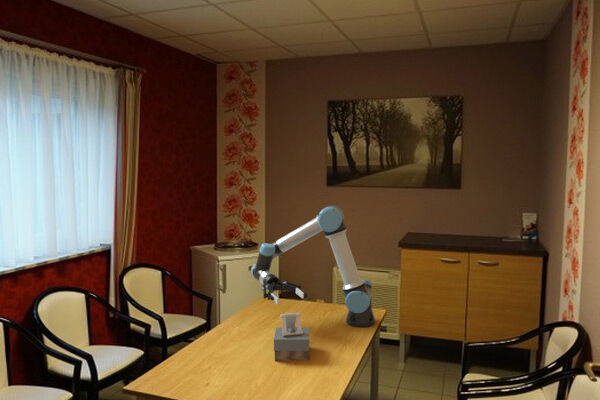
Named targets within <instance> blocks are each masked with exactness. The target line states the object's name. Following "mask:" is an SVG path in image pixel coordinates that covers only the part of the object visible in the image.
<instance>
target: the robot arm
mask: <svg viewBox="0 0 600 400" xmlns="http://www.w3.org/2000/svg"><path fill="white" fill-rule="evenodd" d="M345 219H346V217H345V211H344V210H343V208H342V207H340V206H339V205H337V204H332V205H328V206H326V207H323V209H321V211H320V212H319V213H318V214H316V217H314V218H313V219H311V220H309V221H308V222H306V223H305V224H302V225H301V226H299V227H297V228H295V229H294V230H292V231H291V232H289V233H287V234H286V235H284V236H282V237H280V238H278V239H277V240H275V241H274V242H272V243H267V242H266V243H262V244H261V245H260V248H259V253H258V256H257V259H256V263H255V264H253V265H252V267H251V268H250V273H251V275H252V277H253V278H254V279H255V280H257V281H258V282H259V283H260V284H261V288H262V289H261V290H262V291H263V299H267V301H273V303H274V304H276V305H279V300H280V299H279V297H278V296H276V295H275V294H274V292H278V291H289V292H295V294H296V295H297V296H299V297H300V298H301V299H305V293H304V292H303V290H302V285H299V284H297V283H294V282H291V281H288V280H284V281H280V279H279V277H277V275H275V274H274V273H273V272H271V271H270V270H271V268H272V267H271V266H272V263H273V260H274V259H275V258H276V257H277V258H278V257H279V256H281V255H282V254H284V253H286V252H287V251H289V250H290V249H292V248H294V247H296V246H298V245H300V244H301V243H304V242H305V241H306V240H308V239H310V238H312V237H314V236H315V235H317V234H319V233H321V232H322V233H323V235H324V237H325V238H326V239H328V241H329V244H330V247H331V250H332V252H333V256H334V258H335V261H336V265H337V268H338V271H339V274H340V276H341V280H342V282H343V286H342V289H341V290H342V291H343V295H344V297H345V298H344V302H345V306H346V308H347V310H348V311H347V314H346V317H345V322H346V325H349V326H351V327H356V328H357V327H358V328H368V327H372V326H374V325H375V324H376V317H375V315H374V312H373V306H372V305H373V302H372V301H373V300H372V299H373V296H372V295H373V293H372V292H373V291H372V290H373V284H372V283H373V282H372V281H371V279H365V278H361V277H360V273H359V270H358V268H357V265H356V261H355V259H354V256H353V253H352V250H351V246H350V243H349V241H348V237H347V235H346V232H347V230H348V228H347V225H346V222H345ZM267 290H268V292H267Z"/></svg>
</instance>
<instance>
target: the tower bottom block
mask: <svg viewBox="0 0 600 400" xmlns="http://www.w3.org/2000/svg"><path fill="white" fill-rule="evenodd" d="M290 361H292V362H294V361H297V362H299V361H311V349H310V347H309V351H274V362H290Z"/></svg>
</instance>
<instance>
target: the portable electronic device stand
mask: <svg viewBox="0 0 600 400" xmlns="http://www.w3.org/2000/svg"><path fill="white" fill-rule="evenodd" d="M279 316H280V321H281V327H282V333H283V336H294V335H303V330H302V328H301V327H302V320H301V318H302V317H301V313H300V312H292V313H290V312H289V313H280V314H279ZM295 327H297V331H296V333H290V331H288V332H287V330H288V328H291V329H292V330H295Z"/></svg>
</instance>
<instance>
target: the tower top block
mask: <svg viewBox="0 0 600 400" xmlns="http://www.w3.org/2000/svg"><path fill="white" fill-rule="evenodd" d="M301 328H302V330H303V335H294V336H283V333H282V326H281V327H276V328H275V333H274V337H273V338H274V339H273V351H274V352H275V351H309V348H310V327H307V326H306V327H305V326H303V327H302V326H301ZM288 331H290V333H296V331H297V326H295V330H292V329H291V328H288V330H287V332H288Z"/></svg>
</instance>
